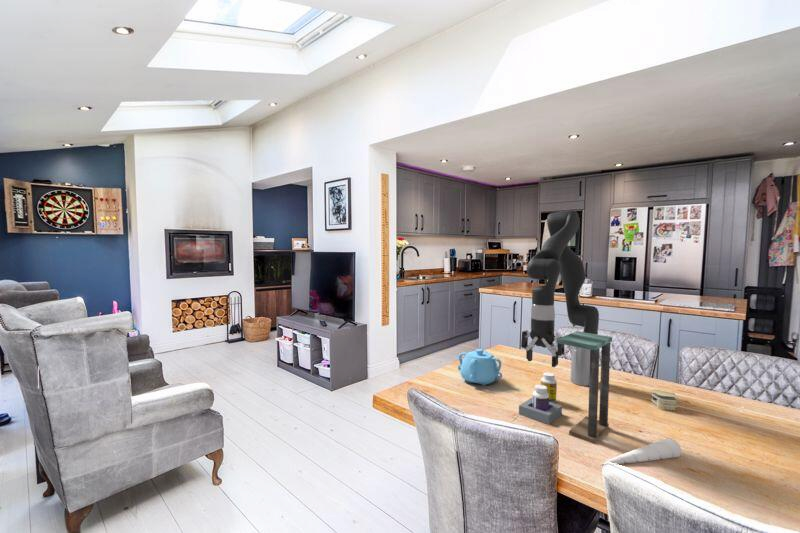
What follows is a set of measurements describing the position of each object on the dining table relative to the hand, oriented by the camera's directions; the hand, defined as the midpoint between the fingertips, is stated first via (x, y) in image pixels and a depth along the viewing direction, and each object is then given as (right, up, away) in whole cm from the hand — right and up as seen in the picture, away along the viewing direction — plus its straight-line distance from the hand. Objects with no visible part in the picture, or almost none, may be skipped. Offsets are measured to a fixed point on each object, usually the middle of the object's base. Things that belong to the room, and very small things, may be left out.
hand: (541, 363), depth 127 cm
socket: (0, -18, +1) cm, 18 cm away
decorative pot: (-14, -16, +33) cm, 40 cm away
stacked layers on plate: (+47, -18, +7) cm, 51 cm away
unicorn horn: (+17, -20, -26) cm, 37 cm away
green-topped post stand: (+10, -18, -9) cm, 23 cm away
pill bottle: (0, -18, +1) cm, 18 cm away
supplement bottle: (+7, -17, +12) cm, 22 cm away
